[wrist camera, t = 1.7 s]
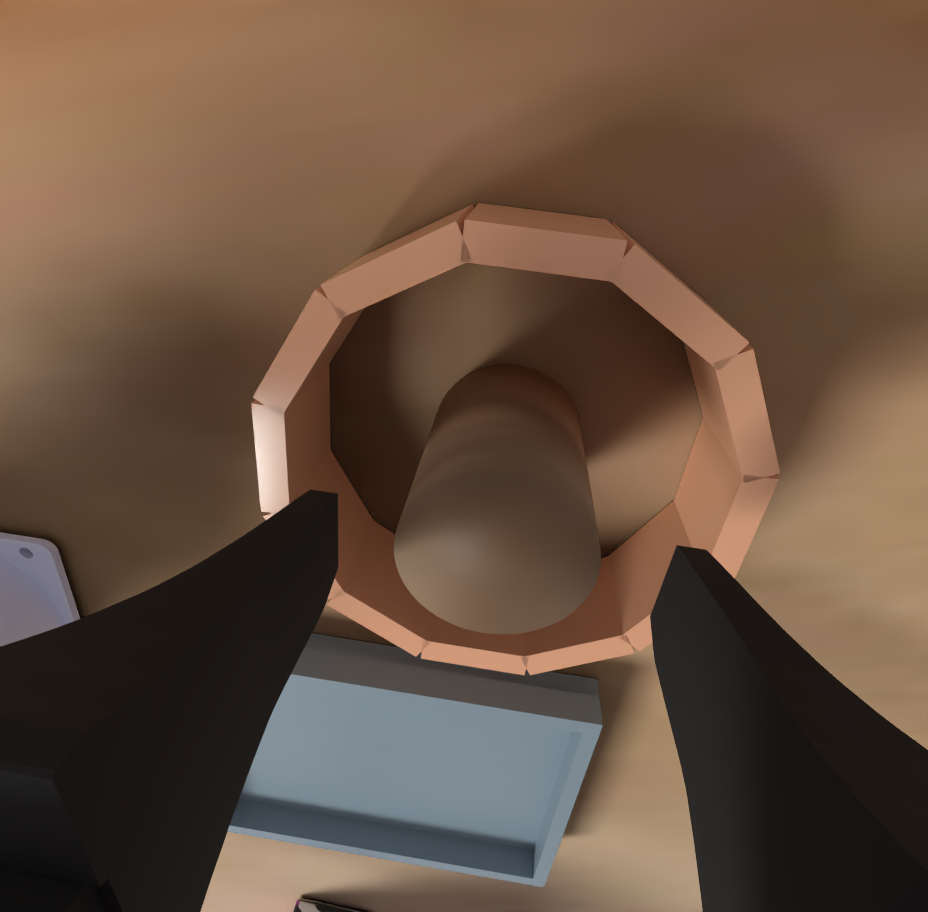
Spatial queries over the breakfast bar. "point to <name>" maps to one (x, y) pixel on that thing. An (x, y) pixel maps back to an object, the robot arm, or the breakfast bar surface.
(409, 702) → the slate tray
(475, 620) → the walnut cylinder
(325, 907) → the candy bar box
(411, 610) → the terracotta ring
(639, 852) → the breakfast bar surface
